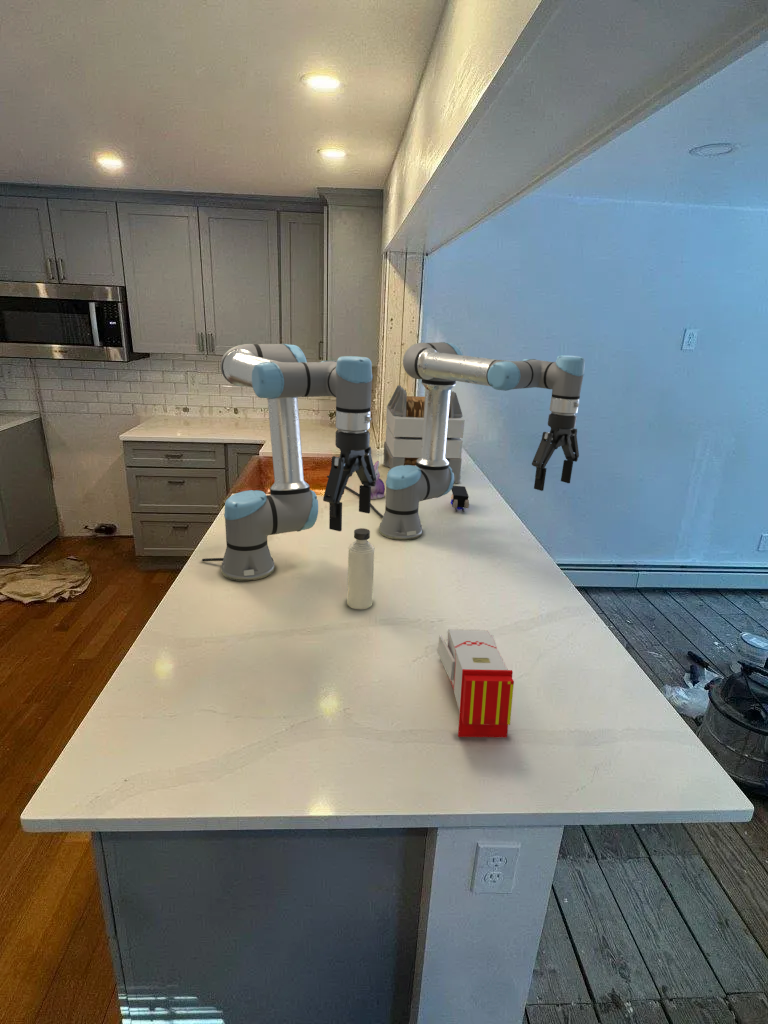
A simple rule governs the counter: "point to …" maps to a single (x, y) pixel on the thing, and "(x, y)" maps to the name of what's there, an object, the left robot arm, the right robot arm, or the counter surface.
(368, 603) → the bottle
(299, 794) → the counter surface
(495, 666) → the toy
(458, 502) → the figurine character
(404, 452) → the transformer
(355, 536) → the cap
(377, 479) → the figurine
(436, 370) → the right robot arm
